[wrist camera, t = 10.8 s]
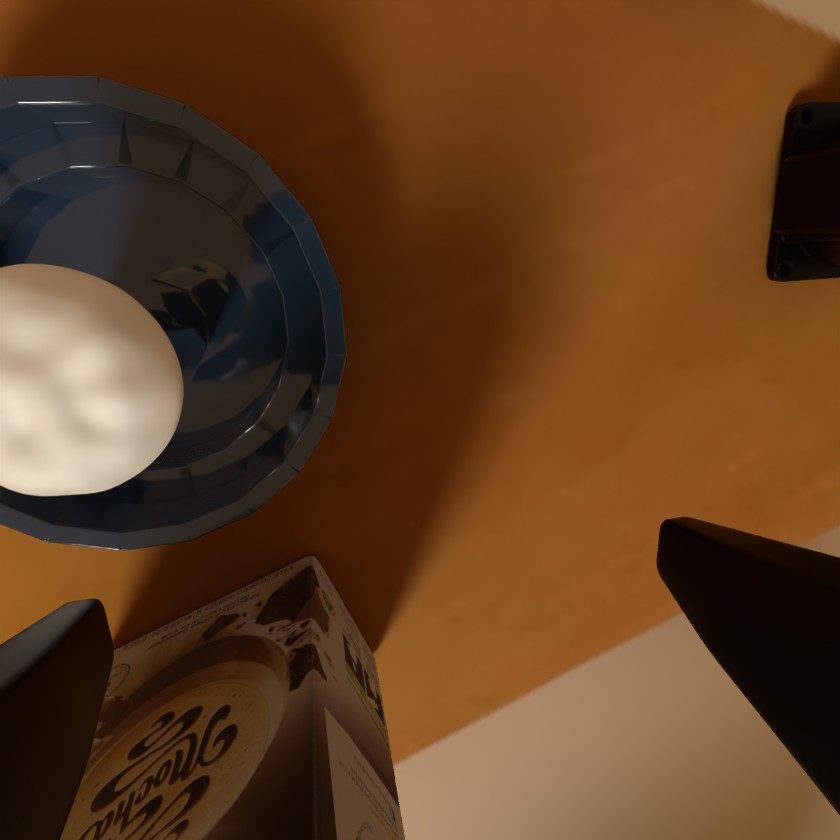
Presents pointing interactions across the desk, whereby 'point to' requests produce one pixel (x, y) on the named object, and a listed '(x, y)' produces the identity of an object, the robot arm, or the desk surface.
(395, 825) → the coffee box
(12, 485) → the milkshake
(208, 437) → the bowl
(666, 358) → the desk surface
